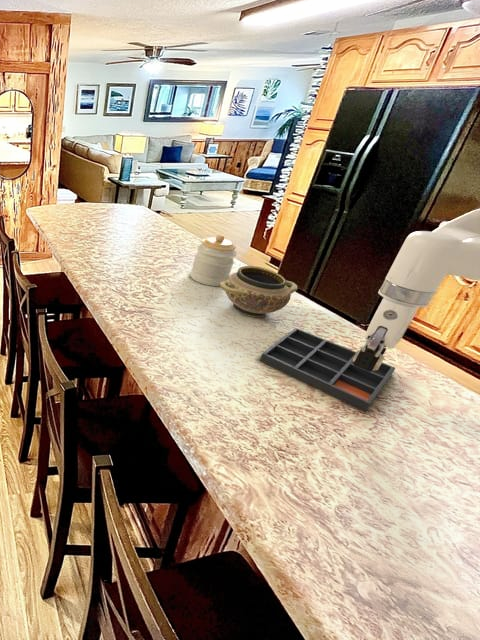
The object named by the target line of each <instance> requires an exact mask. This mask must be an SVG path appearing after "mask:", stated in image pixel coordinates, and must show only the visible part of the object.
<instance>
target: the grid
mask: <svg viewBox="0 0 480 640" xmlns="http://www.w3.org/2000/svg"><path fill="white" fill-rule="evenodd" d="M356 353H357V351H355V350H353V349H350V348H348V347H345V346H343V345H340V344H337V343H335V342H332V341H330V340H328V339H325V338H323V337H320V336H318V335H315V334H314V333H313V334H312V333H311V332H307V331H305V330H303V329H300V328H298V327H294V328H293V329H292V330H290V331H289V332H288V333H287V334H286V335H284V336H283V337H282V338H280V339H279V340H278V341H277V342H275V343H274V344H273V345H271V346H270V347H269V348H267V349H266V350H265V351H264V352H263V353H261V355H260V358H259V362H261V363H263V364H265V365H267V366H269V367H271V368H273V369H276V370H278V371H279V372H281V373H284V374H286V375H288V376H290V377H292V378H294V379H296V380H298V381H300V382H302V383H304V384H306V385H309V386H310V387H313V388H314V389H317V390H319V391H321V392H323V393H325V394H327V395H329V396H331V397H334V398H335V399H337V400H339V401H342V402H344V403H346V404H347V405H350V406H352V407H353V408H356V409H358V410H360V411H362V412H364V413H366V412H367V411H368V409H369V408H370V406H371V405H372V404H373V402H374V401H375V399H376V398H377V397H378V395H379V393H380V392H381V391H382V389H383V388H384V386H385V385H386V383H387V382H388V381H389V379H390V378H391V376H392V375H393V373H394V371H395V370H396V367H395V366H393V365H390V364H387V363H385V362H382V363H381V365H380V367H379V368H378V370H375V371H373V370H372V371H371V372H369V371H367V370H364V369H362V368H359V367H357V366H355V365H354V364H353V363H354V362H353V358H354V356H355V355H356Z"/></svg>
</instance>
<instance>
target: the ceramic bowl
mask: <svg viewBox="0 0 480 640" xmlns="http://www.w3.org/2000/svg"><path fill="white" fill-rule="evenodd" d="M288 286H289V287H288ZM219 288H221V289H222V291H224V292H225V294H226V297H227V298H228V299H229V301H230V302H231V303H232V307H233V309H234V311H236V312H238V313H239V314H242V315H245V316H248V317H253V318H264V317H265V316H266V315H267V314H271V313H275V312H277V311H281V310H282V309H283V308H285V307H286V306H287V305H288V304H289V302H290V300H291V298H292V295H291V294H293V293H295V292H296V291H298V285H297V284H296V283H295V282H293V281H289V280H287V279H286V278H285V277H284V276H283V275H282V274H280V273H278V272H276V271H275V270H271V269H268V268H266V267H261V266H254V265H243V266H241V267H239V268H238V270H237V271H236V272H234V273H230V275H229V277H228V278H227V279H226V281H222V282H221V283H220V286H219Z"/></svg>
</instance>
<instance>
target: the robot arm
mask: <svg viewBox="0 0 480 640" xmlns="http://www.w3.org/2000/svg"><path fill="white" fill-rule="evenodd" d="M448 275H450V276H455V277H459V278H464V279H468V280H473V281H480V208H476V209H474V210H472V211H470V212H466V213H464V214H463V215H460V216H458V217H456V218H454V219H452V220H450V221H447V222H446V223H443V224H442V225H439V226H438V227H437V228H435V229H433V230H432V231H428V230H418V231H413V232H411V233H409V234H408V236H406V238H405V240H404V242H403V244H402V245H401V247H400V248H399V251H398V253H397V255H396V257H395V259H394V261H393V263H392V265H391V266H390V268H389V270H388V273H387V274H386V276H385V278H384V280H383V282H382V283H381V286H380V287H379V289H378V292H377V293H378V295H379V296H381V298H382V299H381V302H380V303H379V305H378V307H377V309H376V311H375V313H374V315H373V317H372V318H371V320H370V323H369V325H368V327H367V329H366V332H365V334H364V336H363V337H364V339H365V340H366V342H365V343H364V345H363V347H362V348H363V349H361V350H360V352H359V354H358V356H357V358H356V360H355V361H354V363H353V364H354V365H355V366H357V367H359V368H362V369H364V370H367V371H369V372H371V371H372V370H373V368H374V367H375V365H376V363H377V361H378V360H379V358H380V357H379V355H380V354H382V355H383V356H384V354H385V352H386V351H387V348H388V349H389V350H393V349H394V348H395V347H396V346H397V345H398V344H399V342H400V341H401V339H403V336H404V335H405V333H406V332H407V329H408V328H409V326H410V324H411V323H412V321H413V320H414V318H415V316H416V314H417V312H418V310H419V308H427V307H428V306H429V304H430V302H431V301H432V299H433V298H434V296H435V295H436V293H437V291H438V289H439V287H440V285H441V284H442V282H443V281H444V279H445V278H446V276H448Z"/></svg>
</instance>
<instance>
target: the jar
mask: <svg viewBox="0 0 480 640" xmlns="http://www.w3.org/2000/svg"><path fill="white" fill-rule="evenodd" d="M200 243H201V244H199V245H197V247H196V249H197V252H196V253H195V255H194V259H193V262H192V266H191V269H190V277H191V279H193V280H194V281H196V282H197V283H200V284H203V285H206V286H213V287H220V283H221V282H222V281H226V279H227V278H228V277H229V276H230V275H231V271H232V269H233V265H234V263H235V261H234V258H235V257H236V256H237V252H236V248H237V246H236V245H235V244H234V243H233V242H232V241H231V240H229V239H226V238H225V236H224V235H223V234H218V235H216V237H215V236H210V237H209V236H208V237H207V238H204V239H202V240H201V242H200Z"/></svg>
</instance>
